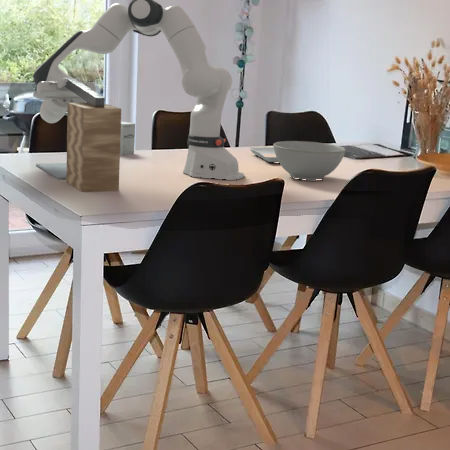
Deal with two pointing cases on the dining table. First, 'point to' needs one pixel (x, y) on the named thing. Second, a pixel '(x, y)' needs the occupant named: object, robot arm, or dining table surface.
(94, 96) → the bar
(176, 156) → the dining table surface
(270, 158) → the square plate
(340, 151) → the decorative bowl
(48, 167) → the mat
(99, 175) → the pedestal
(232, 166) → the robot arm
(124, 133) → the supplement box
